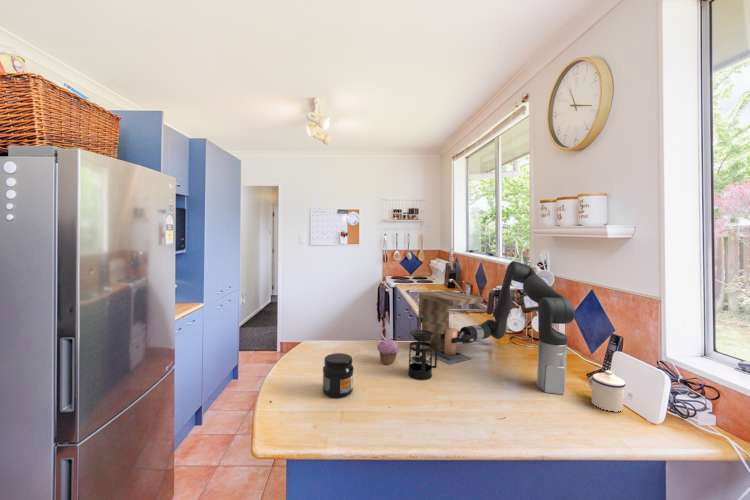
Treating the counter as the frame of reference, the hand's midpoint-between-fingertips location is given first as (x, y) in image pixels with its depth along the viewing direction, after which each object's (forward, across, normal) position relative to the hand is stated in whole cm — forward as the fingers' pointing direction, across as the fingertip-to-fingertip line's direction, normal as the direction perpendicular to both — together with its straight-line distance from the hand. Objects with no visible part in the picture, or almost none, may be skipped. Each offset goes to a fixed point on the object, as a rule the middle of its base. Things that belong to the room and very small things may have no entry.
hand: (446, 338), depth 152 cm
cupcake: (+27, -8, +9) cm, 29 cm away
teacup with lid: (-16, +57, +9) cm, 60 cm away
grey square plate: (-2, 0, +9) cm, 9 cm away
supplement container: (+57, +6, +9) cm, 58 cm away
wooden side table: (-2, 0, +9) cm, 9 cm away
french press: (+22, +9, +9) cm, 26 cm away
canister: (-2, 0, +8) cm, 8 cm away
